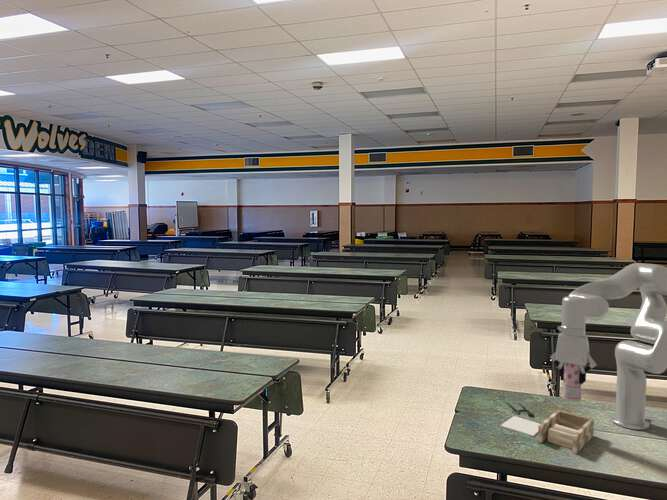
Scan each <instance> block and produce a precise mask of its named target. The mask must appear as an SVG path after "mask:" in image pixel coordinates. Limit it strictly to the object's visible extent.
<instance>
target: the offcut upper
mask: <svg viewBox="0 0 667 500" xmlns="http://www.w3.org/2000/svg"><path fill="white" fill-rule="evenodd" d="M577 431H578V430H575V429H571V428H568V427H565V426H561V425H558V424H554V425H552V426H551V427H550V428H549V429H548V436H550V437H554V438H557V439H560V440H563V441H566V442H569V443H573V435H574V434H575V433H576V432H577Z"/></svg>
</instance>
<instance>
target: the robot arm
mask: <svg viewBox="0 0 667 500" xmlns="http://www.w3.org/2000/svg"><path fill="white" fill-rule="evenodd" d="M638 289H639V291H640V294H641V295H640V296H641V305H640V307H639V310H638V312H637V314H636V316H635V319H634V320H633V322H632V325H631V326H630V327H631V328H630V330H629V331H630V335H631V337H632V338H633V339H636V340H638V341H641V342H638V341H635V340H629V339H628V340H622V341H620V342H618V343H617V344H616V346H615V349H614V357H615V363H616V389H615V390H616V391H615V411H614V412H615V413H613V414H611V415H610V420H611V422H612V423H614V424H615V425H617V426H619V427H623V428H626V429H630V430H638V431H639V430H640V431H644V430H647V429H649V428H650V422H649V421H647V420H646V418H645V417H646V402H647V401H646V399H647V377H646V373H645V372H648V373H651V374H654V375H655V374H656V375H659V374H660V375H661V374H662V373H664V372H665V371H666V370H667V320H665V319H666V317H667V302H666V301H665V299H664V297H663V296H667V267H666V266H664V265H662V264H654V263H644V262H643V263H642V262H634V263H631V264H629V265H627V266H625V267H624V268H622V269H621V270H619V271H617V272H616V273H615V274H613V275H611V276H610V277H607V278H604V279H599V280H596V281H592V282H588V283H586V284H583V285H581V286H579V287H577V288H576V289H574V290H573V291H571V292H570V293H569V294H568V296H564V297H563V298H562V300H561V302H562V303H561V325H557V331H558V330H559V331H560V333H558V335H557V343H556V348H555V351H554V352H553V353H552V354H551V355H550V357H549V358H550V360H552V361H553V362H554V364H555V365H556V366H557V368H558V370H559V373H558V375H559V377H560V380H561V381H563V380H564V363H569V362H571V364H574V365H579V367H580V370H581V373H580V378H579V384H581V385H583V384H584V383H585V382H587V381H586V380H587V372H589V371H590V370H592V369H593V368H595V367H597V366H598V365H597V363H596V361H595V360H594V359H593V358H592V357H591V356H590V345H589V339H588V336H587V335H586V324H587V323H586V320H587V317H589V318H590V317H591V318H598V317H600V318H601V317H602V316H604V315H606V314H607V313H608V311H609V309H610V305H609V302H608V301H607V300H617V299H623V298H625V297H627V296H629V295H630V294H632V293H633V292H635V291H636V290H638ZM642 342H644V343H642ZM645 343H648V344H645ZM649 344H652V345H649ZM587 364H589V365H587Z"/></svg>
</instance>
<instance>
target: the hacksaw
mask: <svg viewBox="0 0 667 500" xmlns="http://www.w3.org/2000/svg"><path fill="white" fill-rule="evenodd" d="M507 402H508V401H507ZM507 402H506V403H507ZM506 405H507V406H509V408H511V410H512V413H513V414H520V412H525V413H526V414H527V416H528V417H529V418H530V417H531V418H533V417H535V414H534V413H532V412H531V411H529V409H527V408H526V407H525V406H524V405H523V404H521V403H520V404H519V403H518V406H520V407H521V408H520V409H518V408H516V407H514V406H513V405H512V404H511V403H509V402H508V403H507V404H506Z"/></svg>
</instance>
